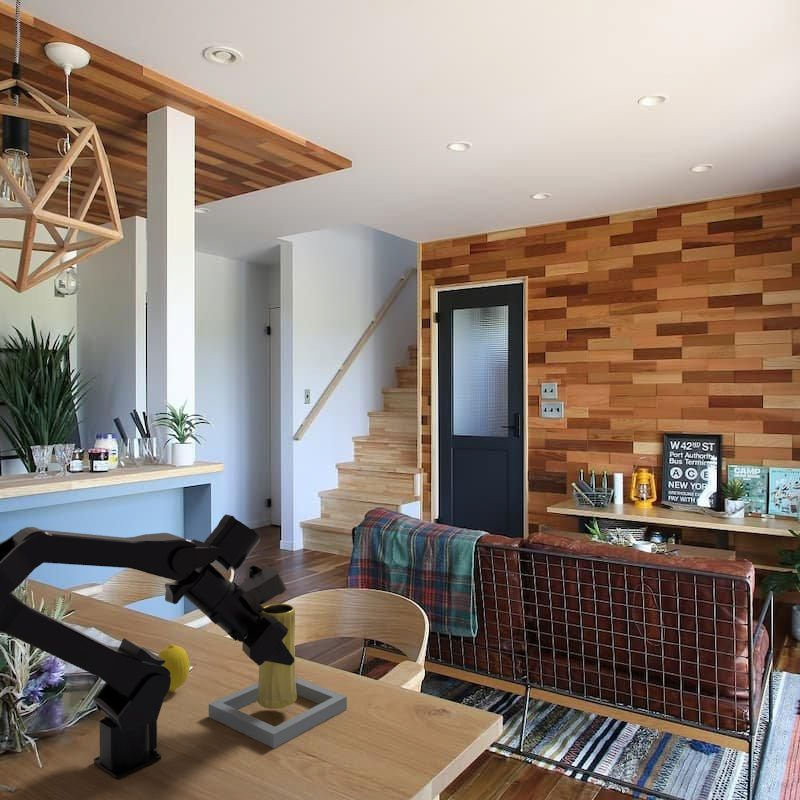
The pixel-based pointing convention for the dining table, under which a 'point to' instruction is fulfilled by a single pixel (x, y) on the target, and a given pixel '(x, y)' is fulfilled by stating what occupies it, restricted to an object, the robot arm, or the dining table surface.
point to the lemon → (176, 665)
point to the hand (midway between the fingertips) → (285, 656)
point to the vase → (276, 677)
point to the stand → (285, 731)
